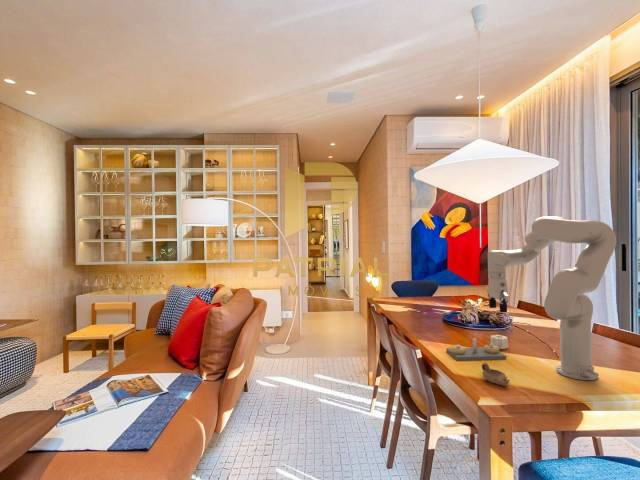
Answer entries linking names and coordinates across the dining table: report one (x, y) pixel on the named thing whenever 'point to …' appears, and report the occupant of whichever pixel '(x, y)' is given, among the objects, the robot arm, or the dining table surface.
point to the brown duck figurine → (494, 375)
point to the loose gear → (499, 341)
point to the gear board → (476, 352)
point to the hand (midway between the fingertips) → (498, 309)
